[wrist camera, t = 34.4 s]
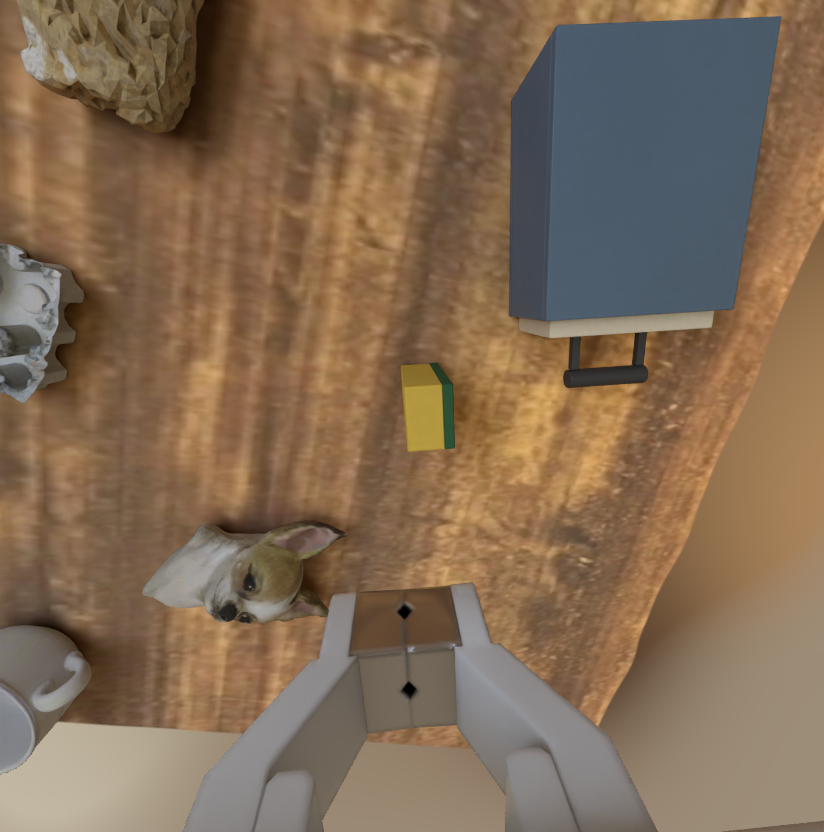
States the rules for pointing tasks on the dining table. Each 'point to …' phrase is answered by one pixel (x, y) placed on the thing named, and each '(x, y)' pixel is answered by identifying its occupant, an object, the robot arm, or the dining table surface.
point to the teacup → (35, 687)
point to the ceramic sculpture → (245, 573)
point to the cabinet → (636, 166)
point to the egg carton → (32, 321)
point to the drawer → (613, 326)
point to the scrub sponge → (427, 407)
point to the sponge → (116, 55)
